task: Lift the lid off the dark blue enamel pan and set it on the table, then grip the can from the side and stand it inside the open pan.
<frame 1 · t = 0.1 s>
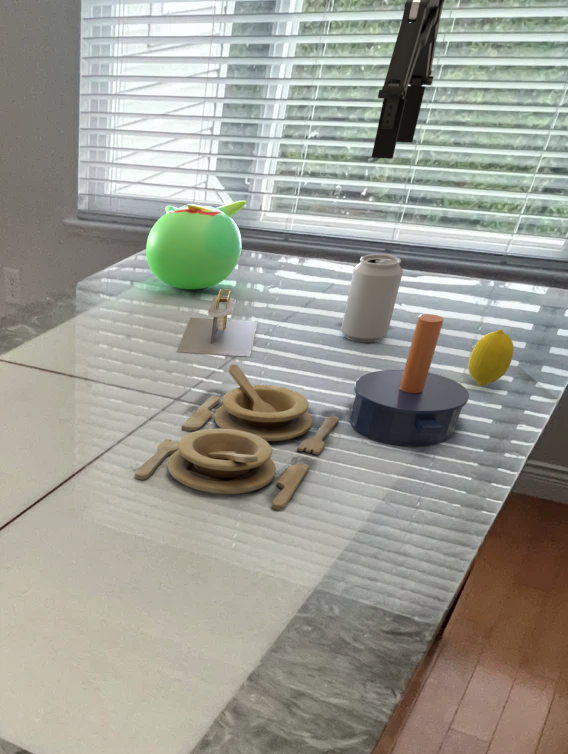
hand: (392, 149, 119), 27 cm above the table, tool pointing down, fingers open, 13 cm apart
can: (362, 337, 142), on the table
tableware set: (240, 449, 112), on the table
pan: (400, 425, 116), on the table
platform: (218, 337, 144), on the table
pan lid: (410, 392, 113), point 4 cm above the table, touching pan
lemon: (480, 387, 125), on the table
toy bird: (190, 287, 166), on the table
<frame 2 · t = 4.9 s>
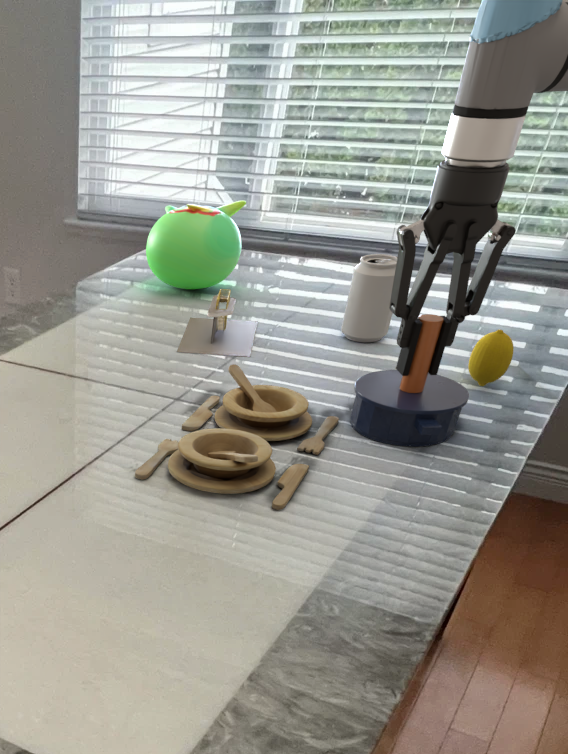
hand: (416, 371, 111), 7 cm above the table, tool pointing down, fingers closed on pan lid, 3 cm apart
pan lid: (410, 392, 113), point 4 cm above the table, touching gripper, pan
everything else where it was.
when the fingers open (3 cm above the table, at t = 12.5 s): pan lid stays where it is, point 1 cm above the table.
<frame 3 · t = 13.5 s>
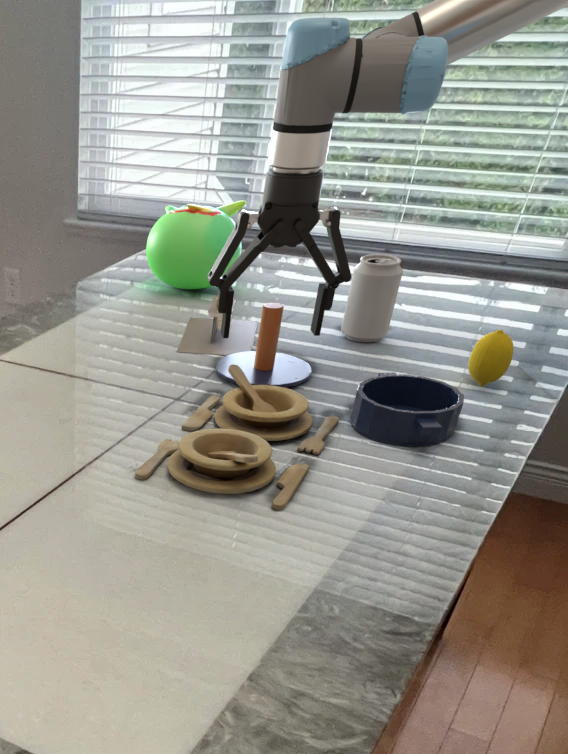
hand: (269, 334, 127), 6 cm above the table, tool pointing down, fingers open, 13 cm apart
pan lid: (263, 370, 130), point 1 cm above the table
everything else where it was.
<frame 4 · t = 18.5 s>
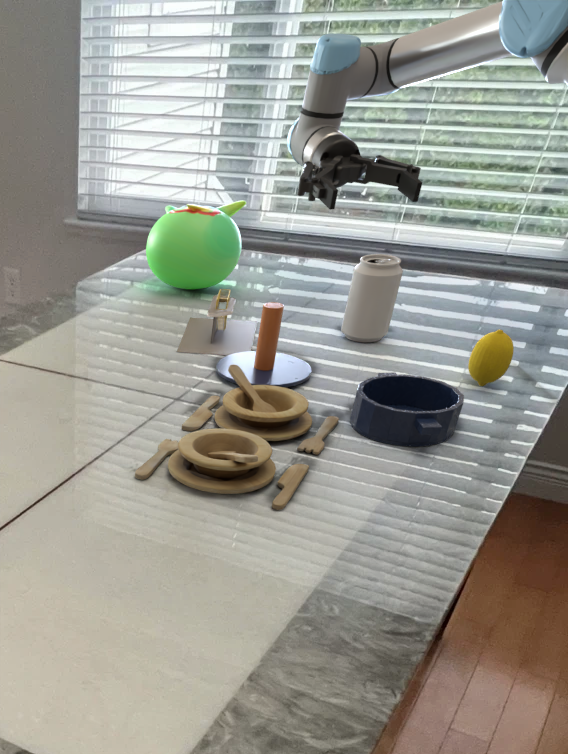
hand: (376, 196, 134), 19 cm above the table, tool horizontal, fingers open, 13 cm apart
nothing on the table moved.
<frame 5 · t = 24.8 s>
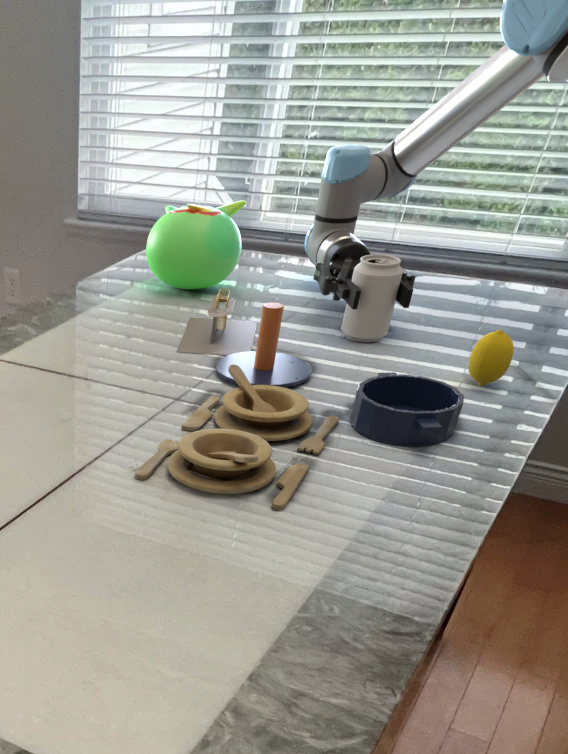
hand: (382, 299, 134), 7 cm above the table, tool horizontal, fingers closed on can, 7 cm apart
can: (362, 337, 142), on the table, touching gripper
everything else where it was.
when the fingers open (8 cm above the table, at t = 35.7 s): can stays where it is, resting on pan.
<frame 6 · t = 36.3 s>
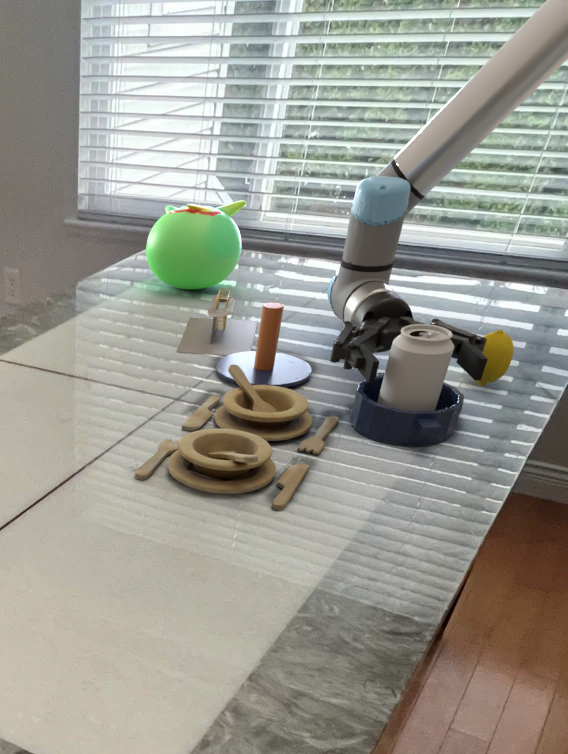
hand: (427, 371, 107), 9 cm above the table, tool horizontal, fingers open, 13 cm apart
can: (401, 423, 115), resting on pan
everything else where it was.
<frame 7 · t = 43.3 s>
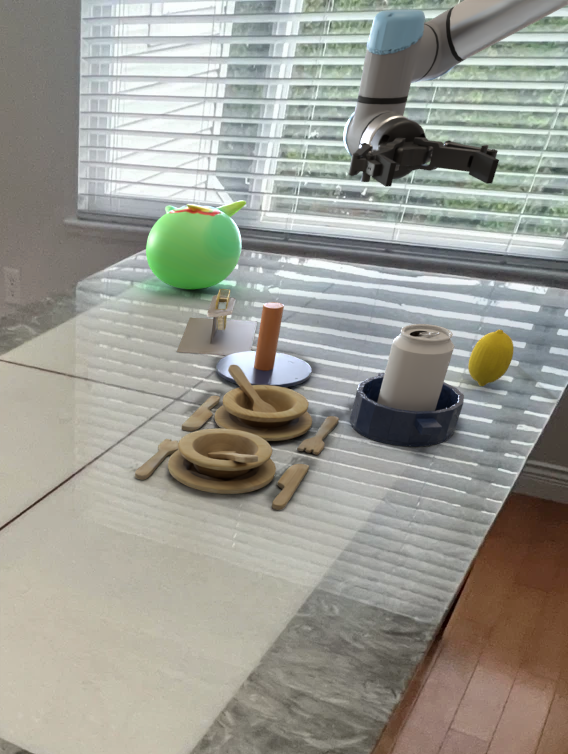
hand: (442, 173, 113), 26 cm above the table, tool horizontal, fingers open, 13 cm apart
nothing on the table moved.
at the end: can inside the target area in the pan (0.0 cm from its centre), point 0.3 cm above the pan's base; can tilted 0°; pan lid inside the target area (0.0 cm from its centre), point 0.6 cm above the table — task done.
